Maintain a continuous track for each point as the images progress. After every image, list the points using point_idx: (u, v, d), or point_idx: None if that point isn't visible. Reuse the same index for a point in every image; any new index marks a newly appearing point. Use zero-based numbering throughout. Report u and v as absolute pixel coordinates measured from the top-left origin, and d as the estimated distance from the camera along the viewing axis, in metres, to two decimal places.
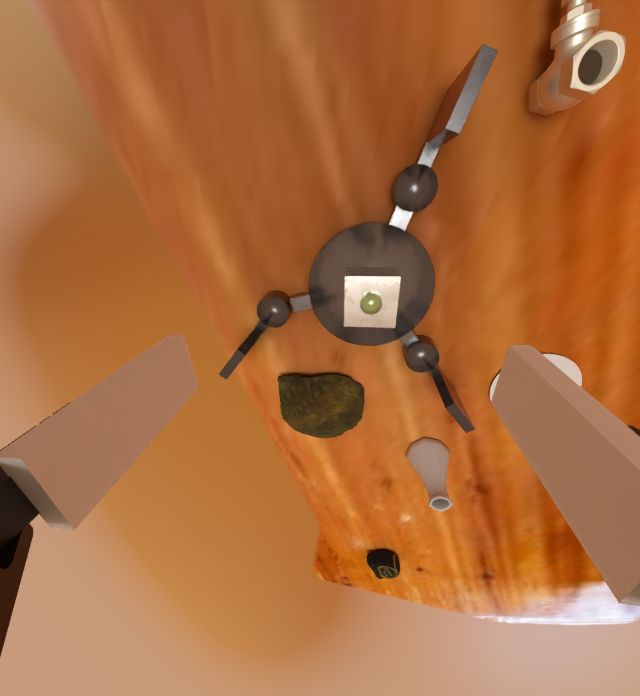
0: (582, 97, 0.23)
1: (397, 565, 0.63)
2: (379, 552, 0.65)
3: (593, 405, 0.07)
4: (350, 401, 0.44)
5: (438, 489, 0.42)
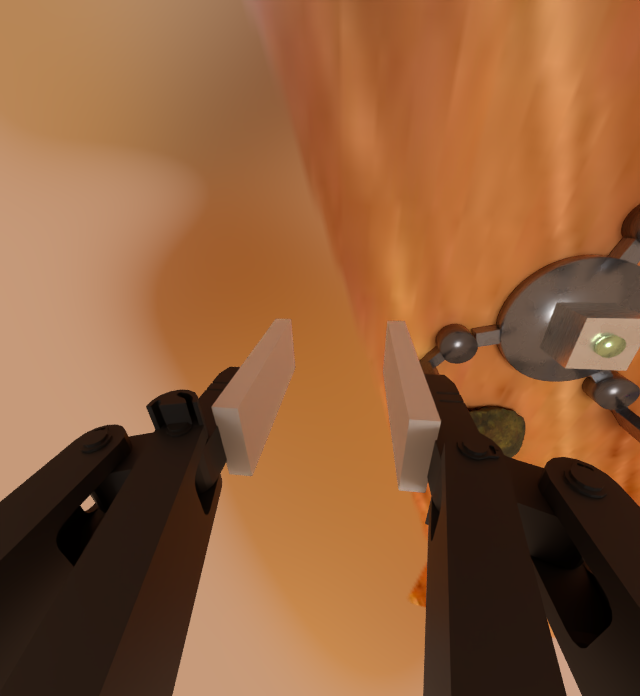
0: None
1: None
2: None
3: (411, 358, 0.10)
4: (514, 436, 0.42)
5: None
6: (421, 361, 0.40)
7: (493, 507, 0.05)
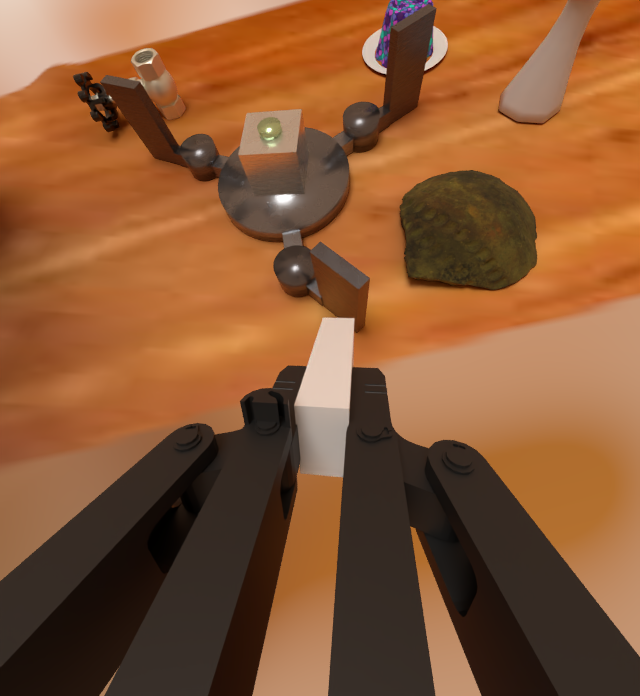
0: (162, 63, 0.37)
1: None
2: None
3: (346, 352, 0.10)
4: (440, 179, 0.30)
5: (566, 9, 0.27)
6: (328, 308, 0.29)
7: (383, 484, 0.05)
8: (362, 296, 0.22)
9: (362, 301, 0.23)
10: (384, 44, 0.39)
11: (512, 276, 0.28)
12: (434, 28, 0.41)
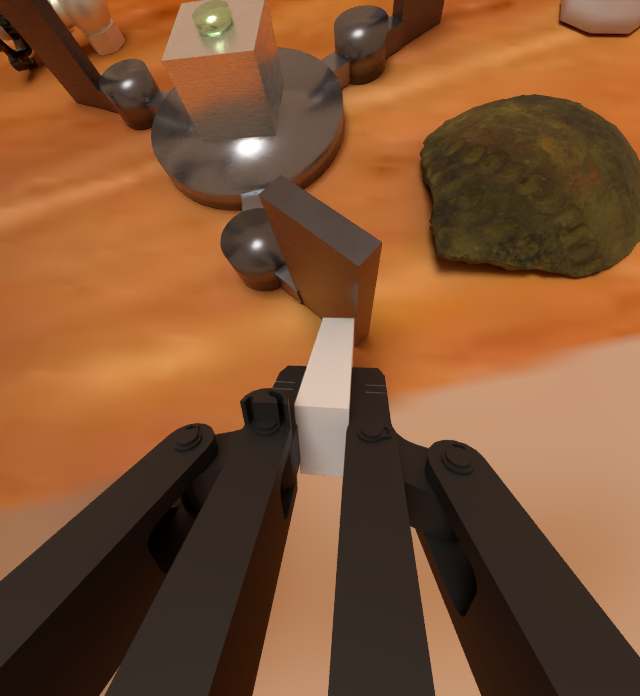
0: None
1: None
2: None
3: (345, 352, 0.10)
4: (484, 108, 0.20)
5: None
6: (311, 308, 0.18)
7: (383, 484, 0.05)
8: (366, 283, 0.11)
9: (365, 294, 0.12)
10: None
11: (611, 254, 0.17)
12: None
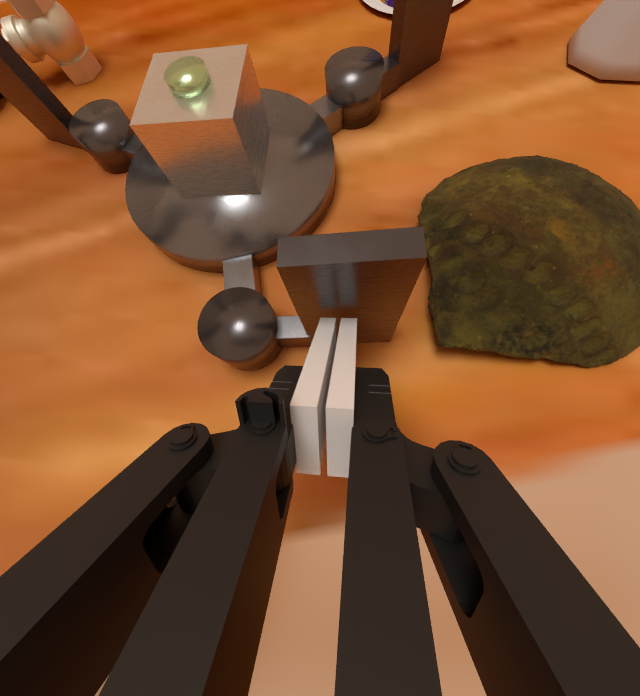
0: None
1: None
2: None
3: (349, 352, 0.10)
4: (487, 171, 0.18)
5: None
6: None
7: (388, 484, 0.05)
8: None
9: None
10: None
11: (625, 346, 0.15)
12: None
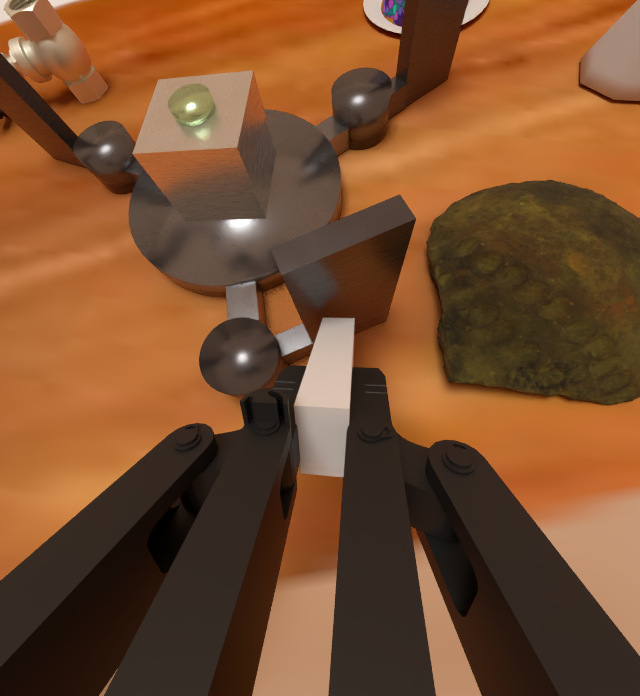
0: (55, 14, 0.24)
1: None
2: None
3: (346, 352, 0.10)
4: (499, 197, 0.17)
5: None
6: None
7: (383, 484, 0.05)
8: None
9: None
10: None
11: None
12: None
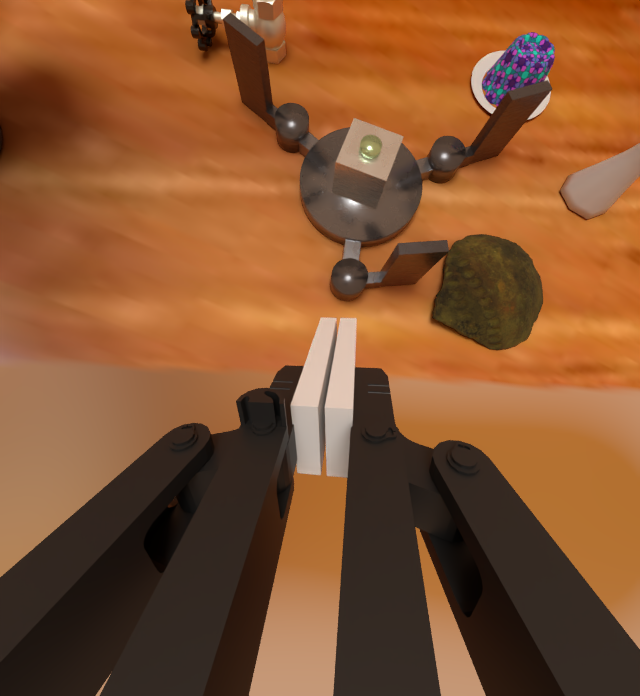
0: (281, 5, 0.35)
1: None
2: None
3: (348, 352, 0.10)
4: (488, 243, 0.35)
5: None
6: (386, 284, 0.36)
7: (387, 484, 0.05)
8: None
9: None
10: (495, 78, 0.39)
11: (506, 344, 0.35)
12: None
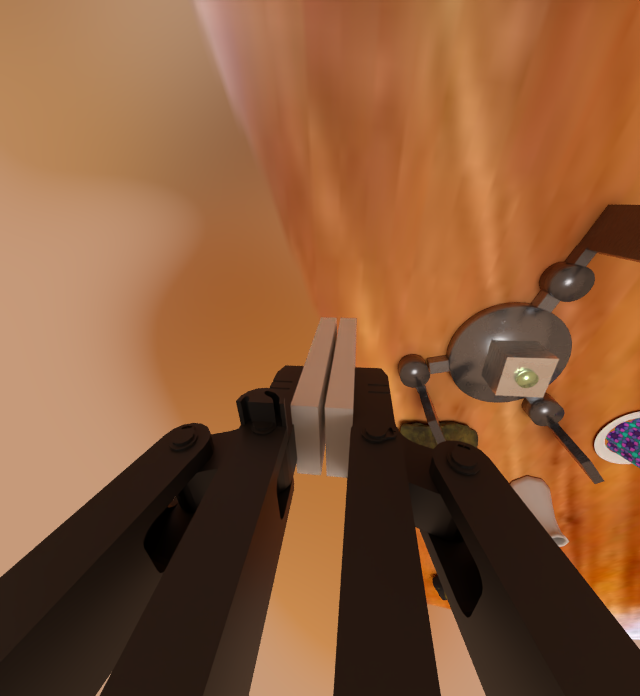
0: None
1: None
2: None
3: (349, 352, 0.10)
4: None
5: (553, 528, 0.47)
6: None
7: (387, 484, 0.05)
8: None
9: None
10: None
11: None
12: None
